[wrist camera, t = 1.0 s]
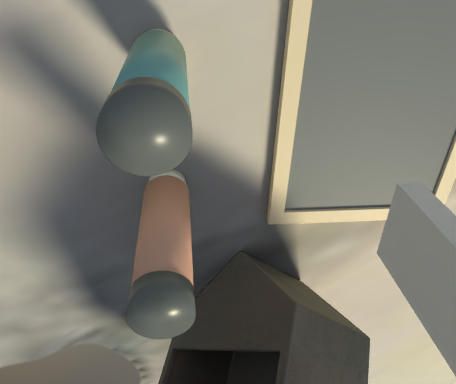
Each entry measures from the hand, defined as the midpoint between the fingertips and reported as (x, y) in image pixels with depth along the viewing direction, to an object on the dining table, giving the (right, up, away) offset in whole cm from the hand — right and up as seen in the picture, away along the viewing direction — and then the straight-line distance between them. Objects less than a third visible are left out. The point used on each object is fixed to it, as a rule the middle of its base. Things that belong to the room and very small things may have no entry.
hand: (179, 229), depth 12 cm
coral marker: (-3, +2, +19) cm, 20 cm away
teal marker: (-3, +10, +14) cm, 17 cm away
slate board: (+13, +7, +18) cm, 23 cm away
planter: (+2, -10, +27) cm, 29 cm away
